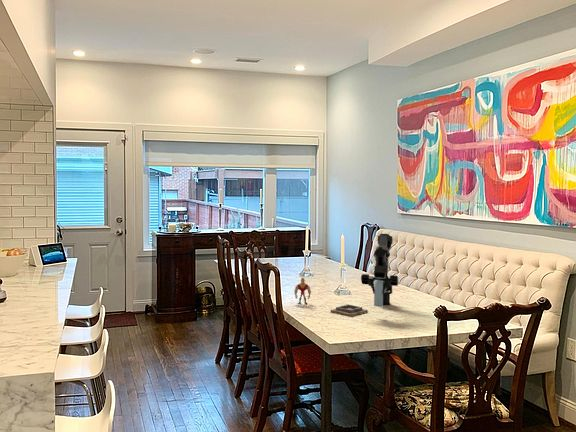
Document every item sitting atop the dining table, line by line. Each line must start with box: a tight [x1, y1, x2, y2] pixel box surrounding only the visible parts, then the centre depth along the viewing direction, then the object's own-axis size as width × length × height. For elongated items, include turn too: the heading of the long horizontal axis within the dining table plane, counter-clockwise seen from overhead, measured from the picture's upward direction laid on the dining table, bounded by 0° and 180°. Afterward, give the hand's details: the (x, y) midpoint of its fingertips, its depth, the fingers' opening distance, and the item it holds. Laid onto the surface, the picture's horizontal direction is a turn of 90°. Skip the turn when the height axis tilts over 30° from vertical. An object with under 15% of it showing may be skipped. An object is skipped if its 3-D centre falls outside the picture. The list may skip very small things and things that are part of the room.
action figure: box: [294, 277, 312, 305], centre depth 324 cm, size 10×4×15 cm, turn 88°
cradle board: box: [330, 303, 369, 317], centre depth 303 cm, size 14×14×3 cm
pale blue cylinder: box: [373, 280, 384, 308], centre depth 291 cm, size 4×4×13 cm
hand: (378, 293), depth 290 cm, fingers closed on pale blue cylinder, 4 cm apart
